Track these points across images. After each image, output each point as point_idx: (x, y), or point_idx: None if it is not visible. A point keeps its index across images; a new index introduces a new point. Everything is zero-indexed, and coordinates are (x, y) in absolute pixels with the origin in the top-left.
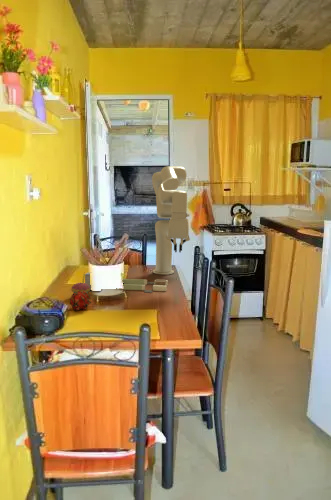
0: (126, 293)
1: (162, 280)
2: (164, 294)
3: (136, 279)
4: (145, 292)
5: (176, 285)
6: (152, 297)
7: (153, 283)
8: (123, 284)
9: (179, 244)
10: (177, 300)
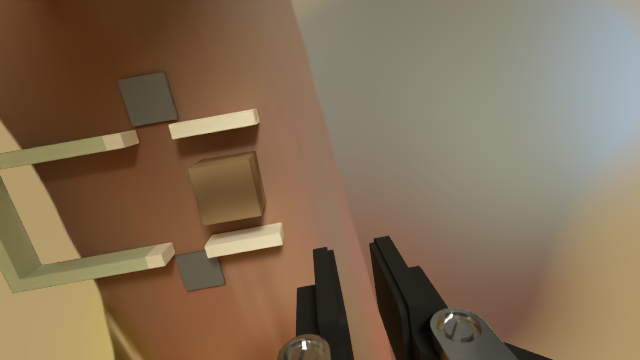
0: (118, 325)
1: (235, 187)
2: (289, 287)
3: (52, 150)
4: (195, 288)
5: (307, 100)
6: (252, 343)
7: (166, 111)
8: (46, 283)
9: (404, 342)
10: (362, 348)
